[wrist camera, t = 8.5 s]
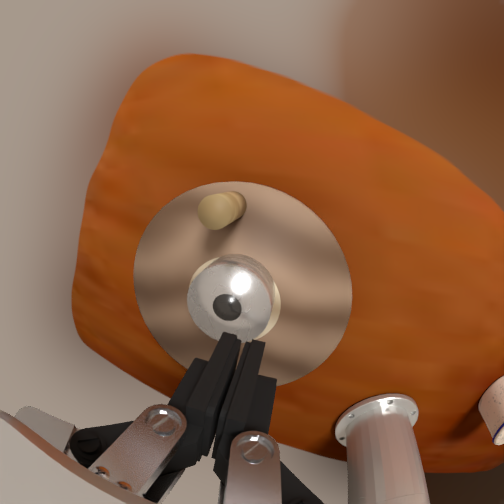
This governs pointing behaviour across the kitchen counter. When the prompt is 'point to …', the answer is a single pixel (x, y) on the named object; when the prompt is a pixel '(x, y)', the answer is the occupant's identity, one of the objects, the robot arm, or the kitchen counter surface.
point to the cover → (232, 297)
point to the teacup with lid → (494, 410)
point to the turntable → (259, 248)
